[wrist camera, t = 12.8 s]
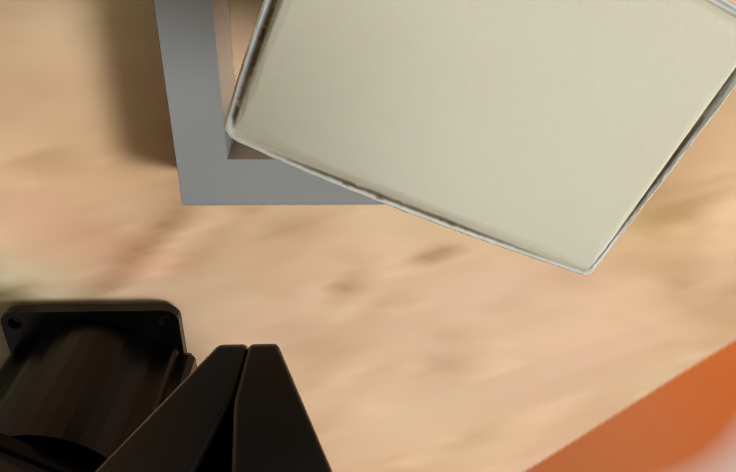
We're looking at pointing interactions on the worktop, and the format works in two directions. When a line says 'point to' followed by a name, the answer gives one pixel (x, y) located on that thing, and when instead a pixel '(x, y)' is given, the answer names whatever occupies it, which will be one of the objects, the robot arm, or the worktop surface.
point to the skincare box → (490, 108)
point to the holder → (221, 119)
